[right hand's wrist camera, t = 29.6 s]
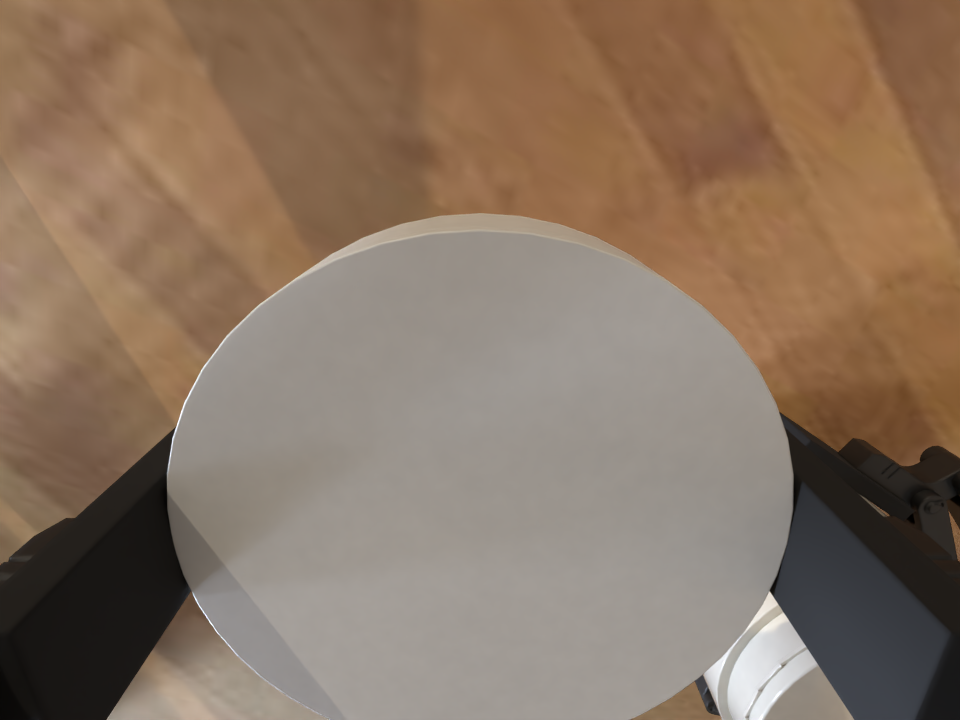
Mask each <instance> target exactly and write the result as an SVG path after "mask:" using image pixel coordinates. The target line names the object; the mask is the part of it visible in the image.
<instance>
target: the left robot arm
mask: <svg viewBox="0 0 960 720" xmlns="http://www.w3.org/2000/svg"><path fill="white" fill-rule="evenodd" d="M779 413H780V412H779ZM780 416H781V419H782V422H783V425H784V427H785V428H786V429H787V430H788V431H789V432H790V433H792V434H793V435H794V436H795V437H796V438H797V439H798V440H799V441H800V442H802V443H803V444H804V445H805V446H806V447H807V448H808V449H809V450H810V451H812V452H813V453H814V454H815V455H816V456H817V457H818V458H819V459H820V460H821V461H823V462H824V463H825V464H826V465H827V466H828V467H829V468H830V469H831V470H833V471H834V472H835V473H836V474H837V475H838V476H839V477H840V478H841V479H842V480H844V481H845V482H846V483H847V484H848V485H849V486H850V487H851V488H852V489H854V490H855V491H856V492H857V493H858V494H860V495H861V496H863V497H865V498H866V499H867V500H869V501H870V502H872V503H873V504H875V505H876V506H878V507H879V508H881V509H882V510H884V511H885V512H887V513H888V514H889V515H890V516H895V517H897V518H899V519H900V520H902V521H904V522H906V523H907V524H909V525H911V526H913V527H915V528H916V529H918V530H920V531H922V532H923V533H925V534H927V535H928V536H929V537H931V538H932V539H933V540H934V541H935V542H936V543H938V544H939V545H940V546H941V547H942V548H943V549H945V550H946V551H947V552H948V553H949V554H950V555H952V559H953V560H957V561H958V559H957V554H956V549H955V544H954V538H953V533H952V528H951V522H950V517H949V512H950V513H951V515H952V517H953V518H954V520H955V522H956V524H957V525H958V527H959V529H960V458H959V457H957V456H955V455H954V454H952V453H951V452H949V451H948V450H946V449H944V448H943V447H940V446H932V447H930V448H928V449H926V450H925V451H924V452H923V453H922V455H921V457H920V463H918V464H915V465H913V466H901V465H899V464H898V463H896V462H895V461H893V460H892V459H890V458H888V457H887V456H886V455H884V454H883V453H881V452H880V451H878V450H877V449H876V448H874V447H873V446H871V445H870V444H869V443H867V442H866V441H864V440H860V439H855V438H853V439H852V440H851V441H850V442H849V443H848V444H847V445H846V446H845V447H843V448H842V449H841V450H840V451H839V452H837V451H835V450H834V449H833V448H831V447H830V446H828V445H827V444H825V443H824V442H822V441H821V440H819V439H818V438H817V437H815V436H814V435H812V434H811V433H809V432H808V431H806V430H805V429H803V428H802V427H800V426H799V425H798V424H796V423H795V422H793V421H792V420H790V419H789V418H787V417H786V416H784V415H783V414H782V413H780ZM948 510H949V512H948ZM695 683H696V685H697V687H698V690H699V692H700V695H701V697H702V700H703V702H704V704H705V707H706V709H707V711H708V712H709V713H711V714H715V715H720V713H719V711H718V709H717V706H716V704H715V702H714V699H713V697H712V695H711V692H710V690H709V688H708V686H707V683H706V681H705V679H704V676H703V675H701V676H700V677H699V678H698V679H697V680H695Z"/></svg>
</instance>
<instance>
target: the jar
mask: <svg viewBox="0 0 960 720" xmlns="http://www.w3.org/2000/svg"><path fill="white" fill-rule="evenodd" d="M859 495H860V494H859ZM860 496H861V495H860ZM861 497H862V498H863V499H865V500H866V501H867V502H868V503H869V504H870V505H871V506H872V507H873V508H875V509H876V510H877V511H878V512H879V513H880V514H881V515H882V516H886V515H885V514H884V513H883V512H882V511H881V510H880V509H878V508H877V507H876V506H875V505H874V504H873V503H872V502H870V501H869V500H867V499H866V498H865V497H863V496H861ZM703 676H704V679H705V681H706V683H707V686H708V688H709V690H710V692H711V695H712V697H713V699H714V702H715V704H716V706H717V709H718V711H719V713H720V716H721V718H722V720H854V719H853V717H852V716H851V714H850V713H849V711H848V710H847V708H846V707H845V705H844V703H843V702H842V700H841V699H840V697H839V696H838V694H837V693H836V691H835V690H834V688H833V687H832V685H831V684H830V682H829V681H828V679H827V678H826V676H825V675H824V673H823V672H822V670H821V669H820V667H819V666H818V664H817V662H816V661H815V659H814V658H813V656H812V655H811V653H810V652H809V650H808V649H807V647H806V646H805V644H804V643H803V641H802V640H801V638H800V637H799V635H798V634H797V632H796V631H795V629H794V628H793V626H792V625H791V623H790V621H789V620H788V618H787V617H786V615H785V614H784V612H783V611H782V609H781V608H780V606H779V605H778V603H777V602H776V600H775V599H774V597H773V596H772V594H771V593H770V591H769V593H768V595H767V597H766V599H765V601H764V603H763V605H762V606H761V608H760V609H759V611H758V612H757V614H756V615H755V617H754V618H753V620H752V621H751V623H750V624H749V626H748V627H747V628H746V630H745V631H744V633H743V634H742V635H741V636H740V637H739V638H738V640H737V641H736V642H735V643H734V644H733V645H732V646H731V648H730V649H729V650H728V651H727V652H726V653H725V654H724V655H723V657H722V658H720V659H719V660H718V661H717V662H716V663H715V664H714V665H713V666H712V667H710V668H709V669H708V670H707V671H706V672H705V673H704V674H703Z"/></svg>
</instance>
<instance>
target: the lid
mask: <svg viewBox="0 0 960 720" xmlns="http://www.w3.org/2000/svg"><path fill="white" fill-rule="evenodd" d="M793 484H794V475H793V468H792V462H791V455H790V449H789V443H788V437H787V434H786V431H785V428H784V425H783V422H782V419H781V416H780V413H779V410H778V407H777V404H776V402H775V400H774V398H773V396H772V394H771V392H770V390H769V388H768V387H767V385H766V383H765V381H764V379H763V377H762V375H761V373H760V371H759V369H758V368H757V366H756V365H755V364H754V362H753V361H752V360H751V358H750V357H749V356H748V354H747V353H746V352H745V350H744V349H743V348H742V346H741V345H740V344H739V342H738V341H737V340H736V338H735V337H734V336H733V335H732V334H731V333H730V332H729V331H728V330H727V329H726V328H725V327H724V326H723V325H722V324H721V323H720V322H719V321H718V320H717V319H716V318H715V317H714V316H713V315H712V314H711V313H710V312H709V311H708V310H707V309H706V308H705V307H704V306H702V305H701V304H700V303H698V302H697V301H695V300H694V299H693V298H691V297H690V296H688V295H687V294H686V293H684V292H683V291H682V290H680V289H679V288H677V287H676V286H675V285H673V284H672V283H670V282H669V281H668V280H666V279H665V278H663V277H662V276H660V275H659V274H657V273H656V272H654V271H653V270H652V269H650V268H649V267H647V266H646V265H644V264H643V263H641V262H640V261H638V260H637V259H635V258H634V257H633V256H631V255H630V254H628V253H626V252H624V251H622V250H620V249H618V248H616V247H614V246H612V245H610V244H608V243H607V242H605V241H603V240H601V239H599V238H597V237H595V236H592V235H589V234H586V233H583V232H581V231H578V230H575V229H572V228H569V227H566V226H564V225H561V224H557V223H552V222H547V221H542V220H538V219H533V218H528V217H523V216H514V215H499V214H484V213H476V214H461V215H446V216H437V217H433V218H428V219H423V220H418V221H413V222H408V223H403V224H400V225H397V226H394V227H391V228H388V229H386V230H383V231H380V232H377V233H374V234H371V235H369V236H366V237H364V238H362V239H360V240H358V241H356V242H354V243H352V244H350V245H348V246H346V247H344V248H342V249H340V250H339V251H337V252H335V253H333V254H331V255H329V256H328V257H326V258H325V259H324V260H322V261H321V262H319V263H318V264H316V265H315V266H313V267H312V268H310V269H309V270H307V271H306V272H304V273H303V274H301V275H300V276H299V277H297V278H296V279H294V280H293V281H291V282H290V283H289V284H287V285H286V286H284V287H283V288H282V289H280V290H279V291H277V292H276V293H275V294H273V295H272V296H270V297H269V298H268V299H266V300H265V301H263V302H262V303H261V304H259V305H258V306H257V307H256V308H255V309H254V310H253V311H252V312H251V313H250V314H249V315H248V316H247V317H246V318H245V319H243V320H242V321H241V322H240V323H239V324H238V325H237V326H236V327H235V328H234V329H233V330H232V331H231V332H230V333H229V334H228V335H227V336H226V338H225V339H224V340H223V342H222V343H221V344H220V346H219V347H218V348H217V350H216V351H215V352H214V354H213V355H212V356H211V358H210V359H209V360H208V362H207V363H206V364H205V366H204V367H203V368H202V370H201V372H200V374H199V376H198V378H197V380H196V382H195V384H194V385H193V387H192V389H191V391H190V393H189V395H188V397H187V399H186V401H185V403H184V406H183V409H182V412H181V415H180V418H179V421H178V424H177V427H176V430H175V433H174V436H173V440H172V446H171V452H170V459H169V465H168V472H167V511H168V517H169V523H170V529H171V534H172V539H173V543H174V547H175V550H176V554H177V557H178V560H179V563H180V566H181V569H182V572H183V575H184V577H185V579H186V581H187V583H188V585H189V587H190V589H191V591H192V593H193V595H194V597H195V599H196V601H197V603H198V605H199V607H200V608H201V610H202V611H203V613H204V614H205V616H206V617H207V619H208V620H209V621H210V623H211V624H212V626H213V627H214V629H215V630H216V632H217V633H218V634H219V635H220V636H221V638H222V639H223V640H224V641H225V642H226V643H227V644H228V645H229V647H230V648H231V649H232V650H233V651H234V652H235V653H236V655H237V656H238V657H239V658H240V659H241V660H243V661H244V662H245V663H246V664H247V665H248V666H249V667H250V668H252V669H253V670H254V671H255V672H256V673H257V674H258V675H259V676H260V677H262V678H263V679H264V680H265V681H267V682H268V683H270V684H271V685H272V686H274V687H275V688H277V689H278V690H279V691H281V692H282V693H284V694H285V695H287V696H288V697H289V698H291V699H293V700H294V701H296V702H298V703H300V704H302V705H303V706H305V707H307V708H309V709H310V710H312V711H314V712H316V713H318V714H319V715H322V716H324V717H326V718H329V719H331V720H630V719H632V718H635V717H637V716H639V715H642V714H643V713H645V712H647V711H649V710H650V709H652V708H654V707H656V706H658V705H659V704H661V703H663V702H665V701H666V700H668V699H670V698H671V697H673V696H674V695H676V694H677V693H679V692H680V691H681V690H683V689H684V688H686V687H687V686H688V685H690V684H691V683H693V682H694V681H695V680H697V679H698V678H699V677H700V676H701V675H703V674H704V673H705V672H706V671H707V670H708V669H709V668H710V667H712V666H713V665H714V664H715V663H716V662H717V661H718V660H719V659H720V658H722V657H723V655H724V654H725V653H726V652H727V651H728V650H729V649H730V648H731V646H732V645H733V644H734V643H735V642H736V641H737V640H738V638H739V637H740V636H741V635H742V634H743V633H744V631H745V630H746V628H747V627H748V626H749V624H750V623H751V621H752V620H753V618H754V617H755V615H756V614H757V612H758V611H759V609H760V608H761V606H762V605H763V603H764V601H765V599H766V597H767V595H768V593H769V591H770V589H771V587H772V585H773V583H774V581H775V579H776V577H777V574H778V571H779V568H780V565H781V562H782V559H783V556H784V553H785V549H786V546H787V542H788V537H789V533H790V527H791V521H792V515H793Z"/></svg>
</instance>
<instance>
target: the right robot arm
mask: <svg viewBox="0 0 960 720" xmlns="http://www.w3.org/2000/svg"><path fill="white" fill-rule="evenodd" d="M784 428H785V427H784ZM175 430H176V427H175V428H174V429H173V430H172V431H171V432H170V433H169V434H168V435H167V436H165V437H164V438H163V439H162V440H161V441H160V442H159V443H158V444H157V445H156V446H154V447H153V448H152V449H151V450H150V451H149V452H148V453H147V454H146V455H144V456H143V457H142V458H141V459H140V460H139V461H138V462H137V463H136V464H135V465H133V466H132V467H131V468H130V469H129V470H128V471H127V472H126V473H125V474H123V475H122V476H121V477H120V478H119V479H118V480H117V481H116V482H115V483H114V484H112V485H111V486H110V487H109V488H108V489H107V490H106V491H105V492H104V493H102V494H101V495H100V496H99V497H98V498H97V499H96V500H95V501H94V502H92V503H91V504H90V505H89V506H88V507H87V508H86V509H85V510H84V511H83V512H81V513H80V514H79V515H78V516H77V517H76V518H66V519H64V520H62V521H60V522H59V523H57V524H55V525H53V526H51V527H50V528H48V529H46V530H44V531H43V532H41V533H39V534H37V535H36V536H34V537H33V538H32V539H30V540H29V541H28V542H27V543H26V544H25V545H23V546H22V547H21V548H20V549H19V550H18V551H16V552H15V553H14V554H13V555H12V556H11V557H10V558H9V561H8V562H4V563H3V564H1V565H0V720H106V719H107V718H108V716H109V715H110V713H111V712H112V710H113V709H114V707H115V706H116V704H117V703H118V701H119V699H120V698H121V696H122V695H123V693H124V692H125V690H126V689H127V687H128V686H129V684H130V683H131V681H132V680H133V678H134V677H135V675H136V674H137V672H138V671H139V669H140V668H141V666H142V665H143V663H144V662H145V660H146V658H147V657H148V655H149V654H150V652H151V651H152V649H153V648H154V646H155V645H156V643H157V642H158V640H159V639H160V637H161V636H162V634H163V633H164V631H165V630H166V628H167V627H168V625H169V624H170V622H171V621H172V619H173V617H174V616H175V614H176V613H177V611H178V610H179V608H180V607H181V605H182V604H183V602H184V601H185V599H186V598H187V596H188V595H189V593H190V592H191V589H190V587H189V585H188V583H187V581H186V579H185V577H184V575H183V572H182V569H181V566H180V563H179V560H178V557H177V554H176V550H175V547H174V543H173V539H172V534H171V529H170V523H169V517H168V511H167V472H168V465H169V459H170V452H171V446H172V440H173V436H174V433H175ZM785 431H786V434H787V437H788V443H789V449H790V455H791V462H792V468H793V475H794V484H793V515H792V521H791V527H790V533H789V537H788V542H787V546H786V549H785V553H784V556H783V559H782V562H781V565H780V568H779V571H778V574H777V577H776V579H775V581H774V583H773V585H772V587H771V589H770V593H771V594H772V596H773V597H774V599H775V600H776V602H777V603H778V605H779V606H780V608H781V609H782V611H783V612H784V614H785V615H786V617H787V618H788V620H789V621H790V623H791V625H792V626H793V628H794V629H795V631H796V632H797V634H798V635H799V637H800V638H801V640H802V641H803V643H804V644H805V646H806V647H807V649H808V650H809V652H810V653H811V655H812V656H813V658H814V659H815V661H816V662H817V664H818V666H819V667H820V669H821V670H822V672H823V673H824V675H825V676H826V678H827V679H828V681H829V682H830V684H831V685H832V687H833V688H834V690H835V691H836V693H837V694H838V696H839V697H840V699H841V700H842V702H843V703H844V705H845V707H846V708H847V710H848V711H849V713H850V714H851V716H852V717H853V719H854V720H960V562H959V561H957V560H953V559H952V555H950V554H949V553H948V552H947V551H946V550H945V549H943V548H942V547H941V546H940V545H939V544H938V543H936V542H935V541H934V540H933V539H932V538H931V537H929V536H928V535H927V534H925V533H923V532H922V531H920V530H918V529H916V528H915V527H913V526H911V525H909V524H907V523H906V522H904V521H902V520H900V519H899V518H897V517H895V516H882V515H881V514H880V513H879V512H878V511H877V510H876V509H875V508H873V507H872V506H871V505H870V504H869V503H868V502H867V501H866V500H865V499H863V498H862V497H861V496H860V495H859V494H858V493H857V492H856V491H855V490H854V489H852V488H851V487H850V486H849V485H848V484H847V483H846V482H845V481H844V480H842V479H841V478H840V477H839V476H838V475H837V474H836V473H835V472H834V471H833V470H831V469H830V468H829V467H828V466H827V465H826V464H825V463H824V462H823V461H821V460H820V459H819V458H818V457H817V456H816V455H815V454H814V453H813V452H812V451H810V450H809V449H808V448H807V447H806V446H805V445H804V444H803V443H802V442H800V441H799V440H798V439H797V438H796V437H795V436H794V435H793V434H792V433H790V432H789V431H788V430H787V429H786V428H785Z"/></svg>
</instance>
